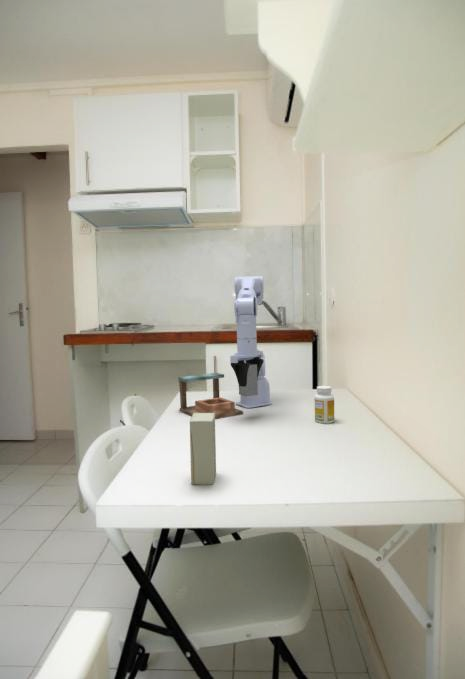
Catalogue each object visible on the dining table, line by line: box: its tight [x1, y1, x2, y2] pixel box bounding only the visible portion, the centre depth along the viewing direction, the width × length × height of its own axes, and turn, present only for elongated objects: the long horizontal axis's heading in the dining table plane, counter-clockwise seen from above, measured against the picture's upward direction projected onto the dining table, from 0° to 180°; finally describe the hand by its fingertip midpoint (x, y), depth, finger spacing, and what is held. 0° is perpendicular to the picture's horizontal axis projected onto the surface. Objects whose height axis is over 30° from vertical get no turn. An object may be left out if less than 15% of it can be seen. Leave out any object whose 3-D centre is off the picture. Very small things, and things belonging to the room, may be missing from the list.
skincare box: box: [189, 413, 217, 485], centre depth 83 cm, size 6×4×12 cm
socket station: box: [178, 372, 244, 420], centre depth 137 cm, size 14×16×11 cm
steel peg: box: [238, 363, 258, 397], centre depth 128 cm, size 4×4×9 cm
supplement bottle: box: [314, 385, 335, 424], centre depth 123 cm, size 5×5×10 cm
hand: (248, 384), depth 128 cm, fingers closed on steel peg, 5 cm apart
